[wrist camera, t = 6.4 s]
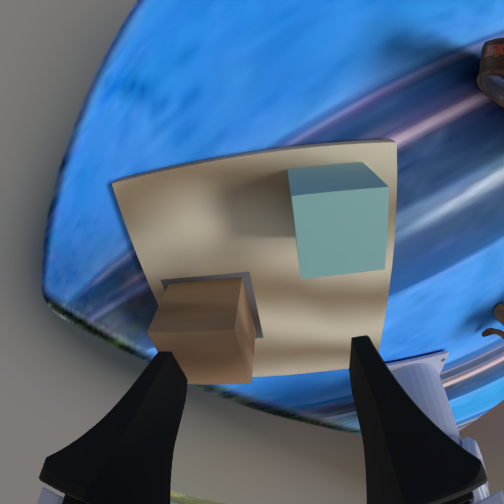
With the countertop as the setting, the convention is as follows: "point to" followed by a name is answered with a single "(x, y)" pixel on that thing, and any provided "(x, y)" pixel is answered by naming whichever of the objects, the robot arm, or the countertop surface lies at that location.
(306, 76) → the countertop surface
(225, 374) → the walnut block
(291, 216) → the baseplate
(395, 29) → the countertop surface
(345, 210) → the teal block
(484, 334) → the lion figurine
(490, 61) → the tin
